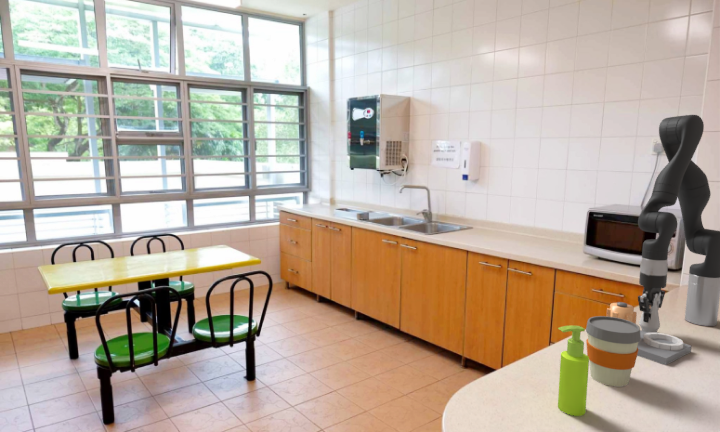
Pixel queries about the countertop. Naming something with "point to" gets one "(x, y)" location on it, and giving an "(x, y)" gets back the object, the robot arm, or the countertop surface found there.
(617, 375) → the reusable coffee cup
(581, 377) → the soap dispenser
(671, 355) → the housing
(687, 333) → the countertop surface
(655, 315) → the salt shaker
